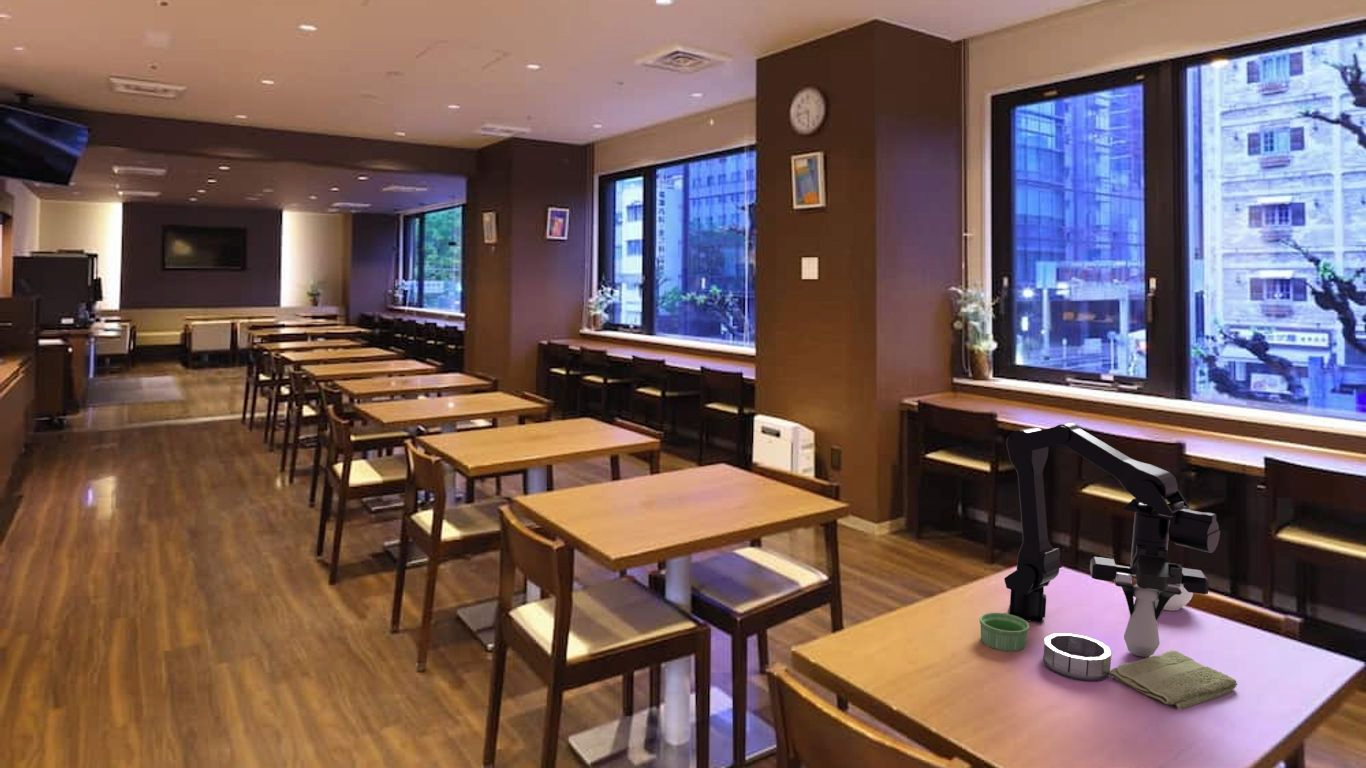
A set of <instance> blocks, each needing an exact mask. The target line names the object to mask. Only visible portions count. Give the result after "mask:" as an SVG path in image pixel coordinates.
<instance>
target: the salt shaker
mask: <svg viewBox="0 0 1366 768" xmlns="http://www.w3.org/2000/svg"><path fill="white" fill-rule="evenodd" d="M1133 586H1134V588H1133V598H1135V599H1134V612H1133V614H1132V615H1131V616H1130V617H1128V618H1129V619H1128V622H1127V625H1126V628H1125V631H1124V635H1123V639H1124V642H1125V644H1126V648H1127V651H1128V652H1129V653H1131V654H1133V655H1135V656H1139V657H1145V658H1149V657H1151V656H1154V655H1155V652H1156V651H1157V649H1158V648H1159V647H1160V636H1159V626H1158V620H1157V621H1156V618H1155V601H1156V600H1157V599H1158V598H1159V590H1156V589H1149V588H1147V589H1143V588H1140V587H1139V586H1138V585H1137V583H1135V584H1133Z"/></svg>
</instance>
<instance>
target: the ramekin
mask: <svg viewBox="0 0 1366 768" xmlns="http://www.w3.org/2000/svg"><path fill="white" fill-rule="evenodd" d="M979 624H980V640H981V642H982V643H983V644H984V645H986V646H987V647H989V648H991V647H992V648H991V649H994V648H995V649H994V650H997V649H998V650H997V651H1001V650H1002V651H1004V652H1018V651H1021V650H1023V649H1024V648H1025V646H1026V644H1027V643H1026V642H1027V636H1028V632H1029V629H1030V624H1029V622H1028V621H1026V620H1024V619H1022V618H1020V617H1017V616H1014V615H1010V614H1009V613H1005V612H987V613H984V614H981V615H980V616H979Z"/></svg>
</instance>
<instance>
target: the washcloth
mask: <svg viewBox="0 0 1366 768" xmlns="http://www.w3.org/2000/svg"><path fill="white" fill-rule="evenodd" d="M1109 677H1112V679H1113V680H1117V681H1118V682H1120V683H1122V684H1123V685H1126V686H1129V687H1130V688H1133V689H1135V690H1136V692H1140V693H1142V694H1144V695H1146V696H1148V697H1151V698H1153V699H1156V700H1158V701H1161V702H1162V703H1163V704H1166V705H1169V706H1171V707H1172V706H1173V707H1172V708H1175V709H1176V710H1184V709H1186V708H1189V707H1192V706H1195V705H1198V704H1201V703H1204V702H1207V701H1211V700H1212V699H1215V698H1219V697H1221V696H1224V695H1227V694H1229V693H1232V692H1234V690H1235V688H1236V687H1237V685H1238V681H1237V680H1236V679H1235V678H1233V677H1231V676H1229V675H1228V674H1225V673H1222V672H1221V671H1218V670H1216V669H1213V668H1212V667H1209V666H1205V665H1203V664H1201V663H1199V662H1197V661H1195V660H1194V658H1191V657H1189V656H1186V655H1185V654H1183V653H1181V652H1179V651H1178V650H1173V649H1172V650H1169V651H1166V652H1163V653H1162V654H1158V655H1151V656H1149V657H1145V658H1143V659H1140V660H1136V661H1131V662H1126V663H1121V664H1119V665H1118V666H1117V667H1115V668H1112V669H1110V672H1109Z"/></svg>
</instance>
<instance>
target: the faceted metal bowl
mask: <svg viewBox="0 0 1366 768" xmlns="http://www.w3.org/2000/svg"><path fill="white" fill-rule="evenodd" d="M1043 641H1044V642H1043V655H1042V664H1043V666H1044V667H1045V668H1046V669H1048V671H1050V672H1052V673H1054V674H1056V675H1057V676H1060V677H1063V678H1067V679H1069V680H1074V681H1079V682H1088V683H1090V682H1091V683H1093V682H1096V683H1097V682H1101V681H1104V680H1107V679H1109V677H1110V675H1109V672H1110V671H1111V664H1112V652H1111V651H1112V650H1111V649H1110V647H1109V646H1108V645H1106V644H1105V643H1103V642H1102V641H1099V640H1097V639H1094V638H1092V637H1088V636H1084V635H1080V634H1074V633H1067V632H1065V633H1064V632H1062V633H1051V634H1049V635H1047V636H1045V637H1044V640H1043Z"/></svg>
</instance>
